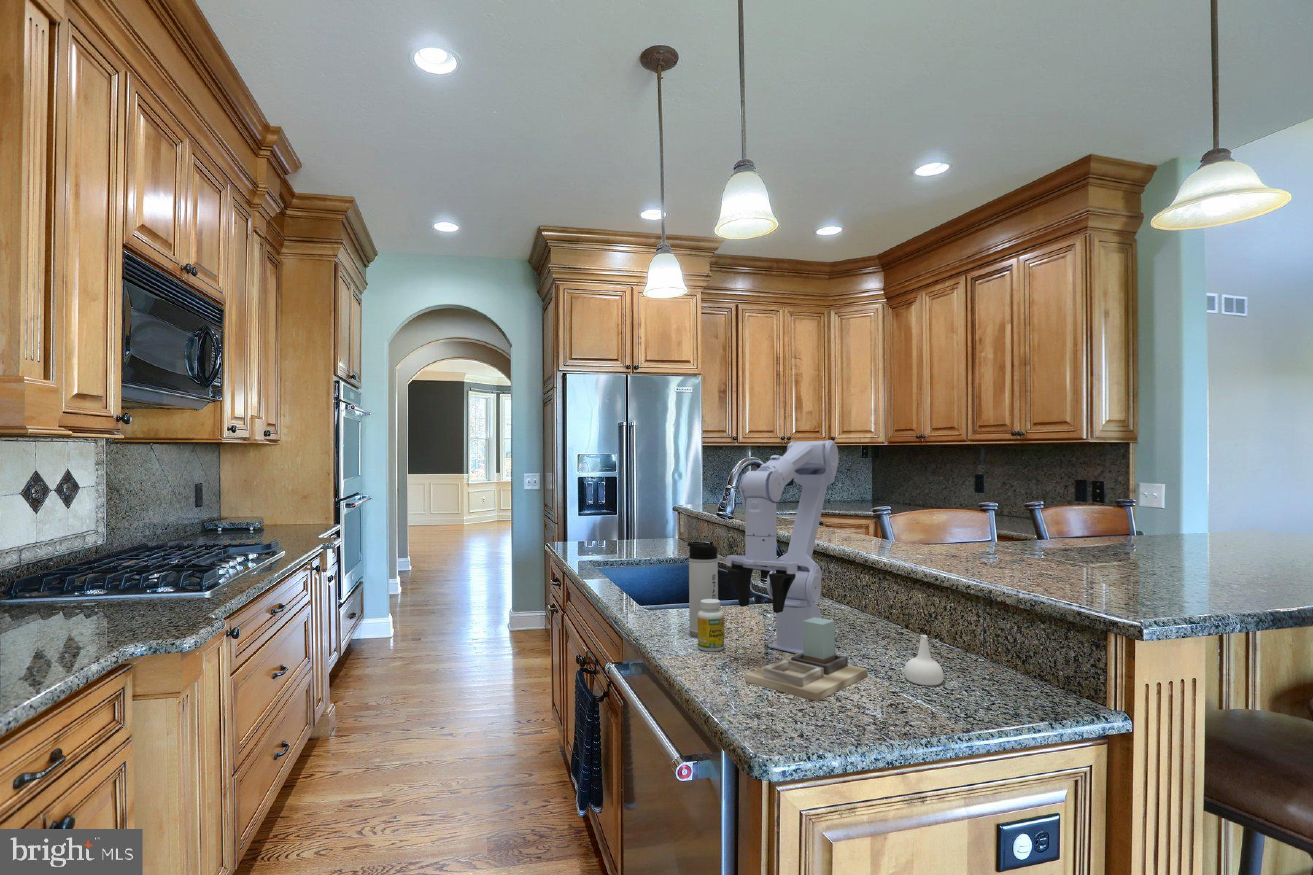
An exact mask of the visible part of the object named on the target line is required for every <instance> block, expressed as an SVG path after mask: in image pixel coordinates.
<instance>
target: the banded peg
mask: <svg viewBox="0 0 1313 875" xmlns="http://www.w3.org/2000/svg"><path fill="white" fill-rule="evenodd" d="M835 629H836V628H835V620H832V619H826V618H822V617H821V618H817V617H814V618H811V619H808V620H805V621H803V659H805V660H809V661H813V662H817V663H822V664H827V663H830V662H832V661H834V660H835V655H836V642H835V639H836V638H835V637H836V636H835V635H836V634H835V632H836V631H835Z"/></svg>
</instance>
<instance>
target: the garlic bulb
mask: <svg viewBox="0 0 1313 875" xmlns="http://www.w3.org/2000/svg"><path fill="white" fill-rule="evenodd" d="M919 636H920V640H919V647H918V652H917V656H916V657H913V658H911V659H909V660H908V661H907V662H906V664H905V665H904V666H903V667H904V668H903V674H904V675H903V676H904V677H905V679H906V680H907V681H909V682H911V683H913V684H914V685H919V686H924V685H925V687H926V686H927V687H933V686H934V685H935V686H938V685H941V683H943V681H944V676H945V675H944V671H943V668H942V666H941V665H940V664H939V663H938V662H937V661H935V660H934V659H933V658H932V656H931V652H930V646H929V641H928V635H926V634H920V635H919ZM935 686H934V687H935Z"/></svg>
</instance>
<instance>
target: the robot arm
mask: <svg viewBox="0 0 1313 875" xmlns="http://www.w3.org/2000/svg"><path fill="white" fill-rule="evenodd" d="M839 461H840V460H839V449H838V446H837V444H836V443H835V441H834V440H831V439H830V440H829V439H828V440H812V441H809V440H805V441H803V440H802V441H797V440H792V441H791V442H790V443H789V442H788V444H787V446H786V452H785V453H784V454H783V455H782V456H781V455H779V454H778V455H777V454H776V455H775V454H774V455H771V456H770V457H769V460H768V461H767V462H765V463H764V464H761V465H760V467H759V468H757V469H756V470H748V471H747V472H746V473H744V474H742V476H741V478H740V483H739V486H738V487H739V495H740V497H741V500H742V508H743V510H744V511H745V516H744V518H745V521H744V522H745V531H744V532H745V536H744V537H745V540H744V541H745V542H744V543H745V546H744V547H745V554H744V555H737V554H731V555H726V567H727V566H728V567H730V568H728V569H727V571H726V572H727V575H728V576H729V578H730V579H731V582H732V584H733V587H734V590H735V593H736V596H737V601H738V605H739V607H741V608H743V607H748V606H749V605H750V600H751V598H750V596H751V594H750V592H751V589H750V588H751V583H752V582H751V580H752V575H753V571H754V570H763V571H769V573H768V574H767V577H766V591H767V593H768V595H769V597H770V598H771V599H772V611H773V613H774V614H775V617H776V618H775V622H776V623H775V625H776V626H775V627H776V629H775V630H776V634H775V635H776V641H774V642H771V643H769V644H767V647H768V648H771V649H775V650H781V651H783V652H788V653H792V654H798V653H800V654H802V653H803V621H805V620H808V619H811V618H814V617H817V618H822V613H821V610H820V607H819V606H818V605H817V604H816V603H817V602H818V601H819V599H820V597H821V593H822V577H823V572H822V569H821V567H820V565H819V564H817V562H816V561H815V560H813V558H812V557H813V553H814V547H815V544H816V539H817V534H818V530H819V527H820V526H819V525H820V520H821V517H822V511H823V507H824V503H825V497H826V492H827V489H828V486H830V485H832V483H834V482H835V478H836V475H837V471H838V465H839ZM792 480H794V482H795V483H796V484H798V485H800V486H802V490H801V493H800V494H801V495H800V499H799V503H798V506H797V510H796V515H795V519H794V522H793V528H792V532H791V536H790V541H789V545H788V549H787V552H786V553H785V554H783V555H781V556H780V557H778V558H777V502H778V501H780V499H782V498H781V497H782V494H783V491H784V489H785V487H786V486H787V485H788V484H789V483H790V482H791V481H792Z"/></svg>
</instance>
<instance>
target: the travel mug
mask: <svg viewBox="0 0 1313 875" xmlns="http://www.w3.org/2000/svg"><path fill="white" fill-rule="evenodd" d="M687 547H689V549H688V550H689V552H688V553H689V555H688V588H689V590H688V592H689V594H688V595H689V596H688V598H689V599H688V600H689V601H688V603H689V604H688V609H689V610H688V611H689V621H688V622H689V623H688V624H689V626H688V627H689V636H691V637H693V638H697V639H698V612H699V611H700V610H702V608H701V600H703V599H717V600H719V582H718V581H719V578H718V577H719V574H718V572H719V565H718V564H719V563H718V562H719V561H718V559H719V558H718V548H717V546H715V545H712V544H707V543H697V542H690V541H689V542H688V541H687Z"/></svg>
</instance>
